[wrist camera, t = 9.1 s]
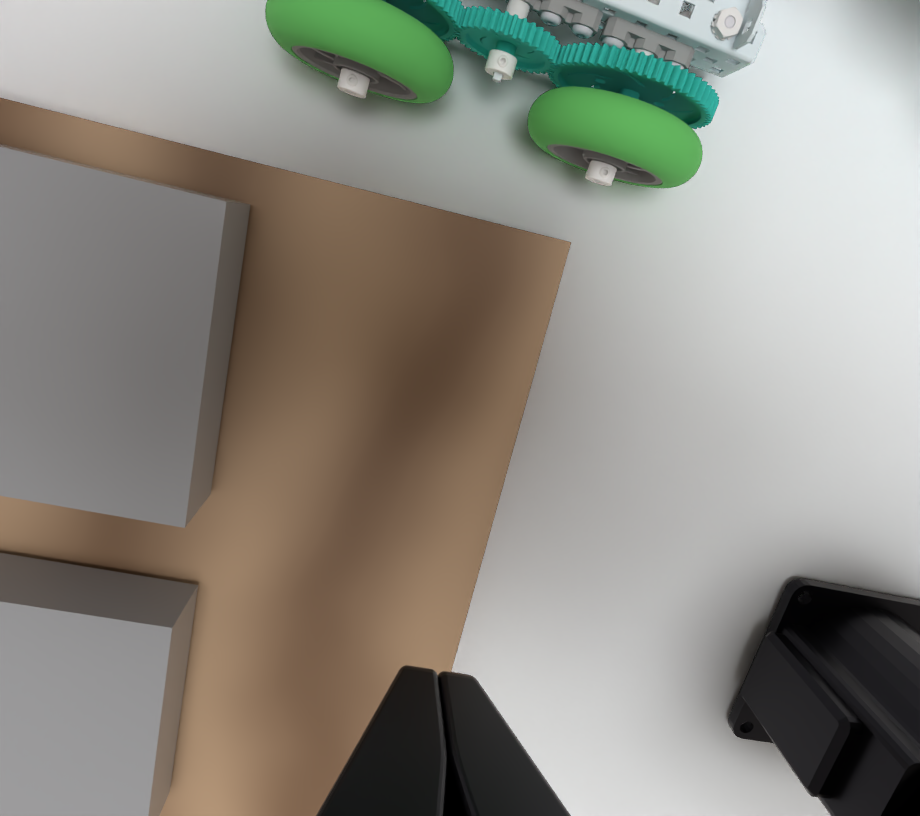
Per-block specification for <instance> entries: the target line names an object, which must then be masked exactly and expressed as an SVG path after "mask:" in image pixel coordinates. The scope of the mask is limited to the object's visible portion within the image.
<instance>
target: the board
mask: <svg viewBox="0 0 920 816" xmlns="http://www.w3.org/2000/svg"><path fill="white" fill-rule="evenodd" d="M0 143H1V144H5V145H9V146H13V147H17V148H21V149H25V150H29V151H34V152H38V153H42V154H46V155H50V156H54V157H58V158H62V159H66V160H70V161H75V162H79V163H83V164H87V165H91V166H95V167H99V168H103V169H107V170H111V171H115V172H120V173H124V174H128V175H132V176H136V177H140V178H144V179H148V180H152V181H156V182H160V183H165V184H169V185H173V186H177V187H181V188H185V189H189V190H193V191H197V192H201V193H205V194H210V195H214V196H218V197H222V198H226V199H230V200H234V201H238V202H242V203H246V204H250V212H249V219H248V227H247V234H246V241H245V248H244V256H243V263H242V270H241V277H240V285H239V292H238V299H237V306H236V314H235V321H234V328H233V335H232V343H231V350H230V357H229V365H228V372H227V379H226V386H225V394H224V401H223V408H222V415H221V423H220V430H219V437H218V444H217V452H216V459H215V466H214V474H213V481H212V488H211V494H210V496H209V497H208V498H207V500H206V501H205V502H204V504H203V505H202V506H201V507H200V509H199V510H198V511H197V513H196V514H195V515H194V517H193V518H192V519H191V521H190V522H189V523H188V524H187V526H186V527H185V528H182V527H177V526H171V525H165V524H159V523H154V522H148V521H142V520H136V519H131V518H125V517H119V516H113V515H108V514H102V513H96V512H91V511H85V510H79V509H73V508H68V507H62V506H56V505H50V504H45V503H39V502H33V501H28V500H22V499H16V498H10V497H5V496H0V553H5V554H11V555H17V556H23V557H29V558H35V559H41V560H48V561H54V562H60V563H66V564H72V565H78V566H84V567H91V568H97V569H103V570H109V571H115V572H121V573H127V574H133V575H140V576H146V577H152V578H158V579H164V580H170V581H176V582H182V583H189V584H195V585H198V590H197V597H196V605H195V612H194V619H193V626H192V634H191V641H190V648H189V656H188V663H187V670H186V677H185V685H184V692H183V699H182V706H181V714H180V721H179V728H178V735H177V743H176V750H175V757H174V765H173V772H172V779H171V786H170V793H169V795H168V797H167V799H166V802H165V804H164V806H163V809H162V811H161V813H160V815H159V816H316V815H317V813H318V811H319V810H320V808H321V806H322V804H323V803H324V801H325V799H326V797H327V796H328V794H329V792H330V790H331V789H332V787H333V785H334V783H335V782H336V780H337V778H338V776H339V775H340V773H341V771H342V769H343V768H344V766H345V764H346V762H347V761H348V759H349V757H350V755H351V754H352V752H353V750H354V748H355V747H356V745H357V743H358V741H359V740H360V738H361V736H362V734H363V732H364V731H365V729H366V727H367V725H368V724H369V722H370V720H371V718H372V717H373V715H374V713H375V711H376V710H377V708H378V706H379V704H380V703H381V701H382V699H383V697H384V696H385V694H386V692H387V690H388V689H389V687H390V685H391V683H392V682H393V680H394V678H395V676H396V675H397V673H398V671H399V669H400V668H401V667H402V666H405V665H410V666H416V667H423V668H429V669H433V670H434V671H435V672H436V673H437V675H438V674H439V673H440V672H442V671H448V672H451V670H452V666H453V663H454V659H455V656H456V652H457V649H458V645H459V641H460V638H461V634H462V631H463V627H464V623H465V620H466V616H467V613H468V609H469V606H470V602H471V598H472V595H473V591H474V588H475V584H476V581H477V577H478V573H479V570H480V566H481V563H482V559H483V556H484V552H485V548H486V545H487V541H488V538H489V534H490V531H491V527H492V523H493V520H494V516H495V513H496V509H497V505H498V502H499V498H500V495H501V491H502V488H503V484H504V480H505V477H506V473H507V470H508V466H509V463H510V459H511V455H512V452H513V448H514V445H515V441H516V438H517V434H518V430H519V427H520V423H521V420H522V416H523V413H524V409H525V405H526V402H527V398H528V395H529V391H530V387H531V384H532V380H533V377H534V373H535V370H536V366H537V362H538V359H539V355H540V352H541V348H542V345H543V341H544V337H545V334H546V330H547V327H548V323H549V320H550V316H551V312H552V309H553V305H554V302H555V298H556V295H557V291H558V287H559V284H560V280H561V277H562V273H563V269H564V266H565V262H566V259H567V255H568V252H569V248H570V244H571V242H567V241H564V240H560V239H556V238H552V237H548V236H544V235H540V234H536V233H532V232H528V231H524V230H520V229H516V228H512V227H508V226H504V225H500V224H496V223H492V222H489V221H485V220H481V219H477V218H473V217H469V216H465V215H461V214H457V213H453V212H449V211H445V210H441V209H437V208H433V207H429V206H425V205H421V204H417V203H414V202H410V201H406V200H402V199H398V198H394V197H390V196H386V195H382V194H378V193H374V192H370V191H366V190H362V189H358V188H354V187H350V186H346V185H343V184H339V183H335V182H331V181H327V180H323V179H319V178H315V177H311V176H307V175H303V174H299V173H295V172H291V171H287V170H283V169H279V168H275V167H271V166H268V165H264V164H260V163H256V162H252V161H248V160H244V159H240V158H236V157H232V156H228V155H224V154H220V153H216V152H212V151H208V150H204V149H200V148H196V147H193V146H189V145H185V144H181V143H177V142H173V141H169V140H165V139H161V138H157V137H153V136H149V135H145V134H141V133H137V132H133V131H129V130H125V129H121V128H118V127H114V126H110V125H106V124H102V123H98V122H94V121H90V120H86V119H82V118H78V117H74V116H70V115H66V114H62V113H58V112H54V111H50V110H47V109H43V108H39V107H35V106H31V105H27V104H23V103H19V102H15V101H11V100H7V99H3V98H0Z"/></svg>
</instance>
